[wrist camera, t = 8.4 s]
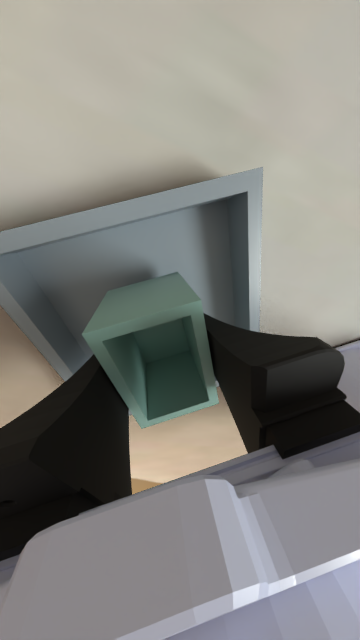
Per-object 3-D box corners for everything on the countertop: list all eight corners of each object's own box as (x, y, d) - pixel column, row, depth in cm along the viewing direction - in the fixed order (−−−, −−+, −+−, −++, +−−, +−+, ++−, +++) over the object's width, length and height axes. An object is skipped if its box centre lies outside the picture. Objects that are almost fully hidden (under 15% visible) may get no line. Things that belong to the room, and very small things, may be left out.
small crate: (177, 271, 11) (201, 299, 6) (195, 349, 14) (218, 403, 9) (107, 290, 10) (81, 334, 6) (142, 365, 14) (141, 428, 9)
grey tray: (233, 182, 11) (262, 167, 8) (241, 352, 18) (258, 373, 15) (0, 240, 10) (-51, 244, 7) (107, 394, 17) (101, 424, 14)
